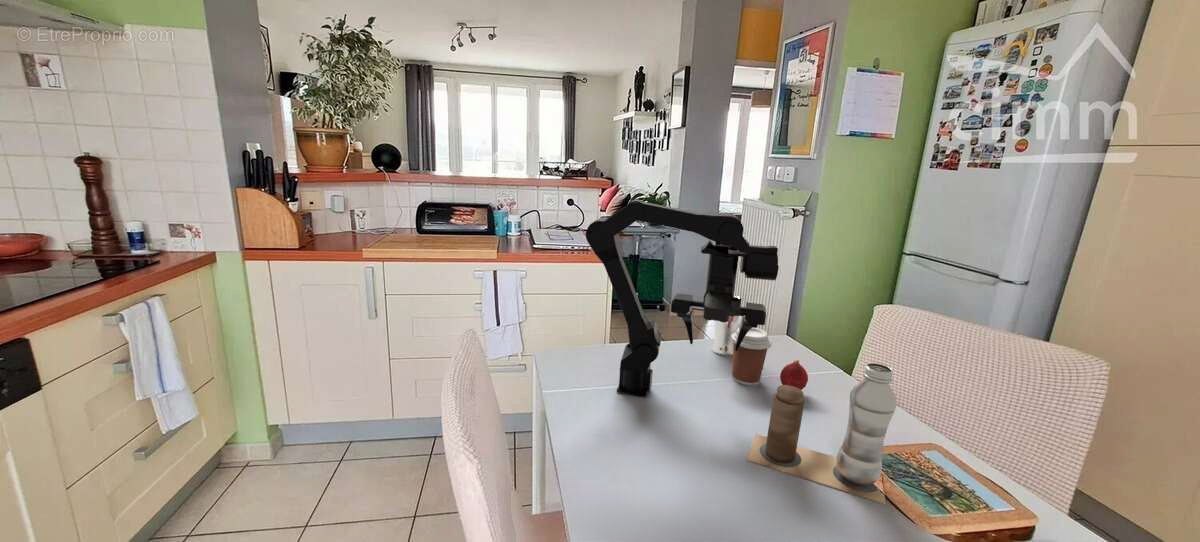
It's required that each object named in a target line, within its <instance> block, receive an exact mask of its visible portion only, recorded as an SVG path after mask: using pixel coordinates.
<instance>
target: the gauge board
mask: <svg viewBox="0 0 1200 542" xmlns="http://www.w3.org/2000/svg"><path fill="white" fill-rule="evenodd" d="M766 441H767V435H766V436H765V435H762V434H758V433H755V434H754V437H753V439H752V442H751V445H750V448H749V451H748V453H747V458H746V461H748V462H750V463H751V462H752V463H755V464H757V465H761V466H763V467H767V468H770V469H772V470H776V471H780V472H782V473H785V474H789V475H791V476H795V477H797V478H802V479H804V480H807V481H811V482H813V483H817V484H820V485H823V486H827V487H828V488H829V487H830V488H832V489H835V490H838V491H841V492H845V493H848V494H851V495H854V496H858V497H861V498H864V499H866V500H870V501H873V502H876V503H878V504H883V505H886V497H885V493H884V494H883V493H881V492H880V491H879V489H877V487H876V486H875V485H874V484H871V485H858V484H855V483H852V482H850V481H848V480H846V479H845V478H844V477H842V476H841V474H840V473H839V471H838V469H837V466H836V457H837V456H833V455H831V454H830V455H829V454H827V453H823V452H819V451H817V450H813V449H809V448H807V447H806V448H805V447H802V446H799V445H797V449H796V455H795V460H794V461H793V462H792V463H787V464H785V463H779V462H776V461H774V460H772V459H770V458H769V457H768V456H767V455H766V453H765V448H766Z"/></svg>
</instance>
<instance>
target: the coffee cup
mask: <svg viewBox="0 0 1200 542" xmlns="http://www.w3.org/2000/svg"><path fill="white" fill-rule="evenodd" d="M739 328H740V327H738V329H737V331H736V332H735V333H733V334H732V336H731V340H732V342H733V355H732V370H731V371H732V372H731V374H732V375H731V378H732V377H733V378H732V380H733V379H734V380H733V381H735V382H736V381H737V382H736V383H738V382H739V383H738V384H740V383H741V385H744V384H745V386H757V385H759V384H760V382H761V377H762V372H763V370H764V365H765V362H766V361H765V360H766V357H767V353H768V349H769V348H771V347H772V345H773V344H772V342H773V341H772V340H771V339H770V338H769V334H768V333H767V331H765V330H763V329H762V328H758V327H757V328H751V329H750V330H749V331H748V332H747V334H746V335H745V337H744V339H743V341H742V343H741V344H740V346H739V348H738V350H737V351H735V346H736V340H737V336H738V332H739Z"/></svg>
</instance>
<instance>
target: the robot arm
mask: <svg viewBox="0 0 1200 542" xmlns="http://www.w3.org/2000/svg"><path fill="white" fill-rule="evenodd" d="M638 221H639V222H644V223H649V224H653V225H657V226H663V227H666V228H673V229H676V230H677V229H678V230H682V231H686V232H692V233H695V234H697V235H700V236H702V237H704V238H706V239H707V240H708V241H707V242H706V244H704V245H703V246H701V247H700V252H701V254H705V255H706V254H707V255H709V258H708V266H707V276H706V284H705V285H706V286H705V293H704V294H703V301H701V300H695V299H694V295H692V294H688V293H687V294H685V293H676V294H675V295H674V296H673V299H672V300H671V305H670V312H671V313H673V314H676V317H678V318H681V319H682V320H683V323H684V325H685V327H686V332H687V336H688V339H689V344H690V345H693V343H694V334H695V333H694V332H695V329H694V324H695V323H694V322H695V319H694V317H695V316H694V313H695V312H694V310H696V311H702V312H703V319H704V320H706V321H710V322H711V321H714V320H715V321H720V322H728V320H729V316H732V317H734V316H741V320H740V324H739V327H738V328H739V332H738V336H737V340H736V346H735V351H737V350H738V348H739V346H740V344H741V343H742V341H743V339H744V337H745V335H746V334H747V332H748V331H749V330H750V329H751V328H758V325H759V326H765V325H766V320H767V319H766V318H767V309H766V306H765V305H764V304H763V303H756V302H749V301H747V302H745V306H742V307H741V299H742V298H741V297H739V298H735V297H734V296H735V289H736V282H737V274H738V273H737V272H738V265H739V272H740V274H741V273H743V275H744V279H753V280H763V281H764V280H765V281H776V280H777V277H778V273H779V269H780V268H779V255H778V251H779V248H778V247H777V246H776V245H764V246H763V245H752V244H750V242H749V241H748V239H745V237H744V236H743V235H744V226H743V223H742V222H741V220H740V219H739V218H738V216H737V215H735V214H734V213H730V212H715V211H714V212H712V211H710V212H696V211H691V210H687V209H680V208H675V207H670V206H666V205H661V204H658V203H657V204H656V203H652V202H648V201H647V202H646V201H643V200H641V199H633V200H631V201H630V202H629V203H628V204H627V205H626V206H624V207H622V208H621V209H619V210H618V211H617V212H614V213H613V214H612V215H610V216H609V217H605V216H603V217H599V218H597V219H595V220H594V221H593V222H591V223H590V224H589V225H588V226H587V229H586V231H585V239H586V242H587V244H588V245H589V246H590V248H591V250H592V251H593V253H594V255H595V256H596V257H597V258H598V260H599V261H601V263H602V264H603V265H604V268H605V271H606V274H607V276H608V279H609V281H610V284H611V286H612V287H611V288H613V289H612V290H613V292H614V294H615V297H616V299H617V301H618V304H619V306H620V309H621V312H622V314H623V317H624V319H625V322H626V325H627V331H628V332H627V333H628V342H629V343H627V344H626V345H625V346H624V349H623V350H624V351H623V353H622V356H621V359H620V363H619V364H620V365H619V377H618V386H617V388H616V392H617V393H621V394H625V395H631V396H636V397H642V398H645V397H646V396H647V395H648V393H649V392H650V390H651V388H652V384H653V373H654V371H653V369H651V368H652V367H651V366H652V362H653V363H654V362H655V360H656V359H658V356H659V352H660V347H661V342H662V337H663V336H662V332H661V331H660V330H659V328H658V325H657V324H658V323H657V320H656V318H654V319H652V320H649V318H647V316H646V315H645V313H644V310H643V307H642V305H641V302H640V299H639V297H638V295H637V292H636V289H635V287H634V284H633V281H632V279H631V276H630V274H629V270H628V269H627V266H626V263H625V261H624V259H623V254H622V247H621V246H622V245H621V239H620V235H619V233H621V232H623V231H624V230H626V228H628V227H629V226H631V225H633V224H634V223H635V222H638ZM712 241H713V242H716V243H718V244H714V243H713V242H712ZM719 244H720V245H719ZM729 246H731V247H733V248H734V249H735V250H732V249H729ZM739 259H740V262H739Z"/></svg>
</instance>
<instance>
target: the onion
mask: <svg viewBox="0 0 1200 542" xmlns="http://www.w3.org/2000/svg"><path fill="white" fill-rule="evenodd" d="M779 381H780V383H781V385H789V386H793V387H796V388H798V389H800V390H801V391H802V390H803V389H804V388H806V386H807V384H808V381H809V375H808V372H807V371H806V369H805V368H804V366H803V365H801V364H800V360H799V359H794V360H793V361H792V363H789V364H786V365H785V366H784V367H783V368H782V369H781V371H780V375H779Z"/></svg>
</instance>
